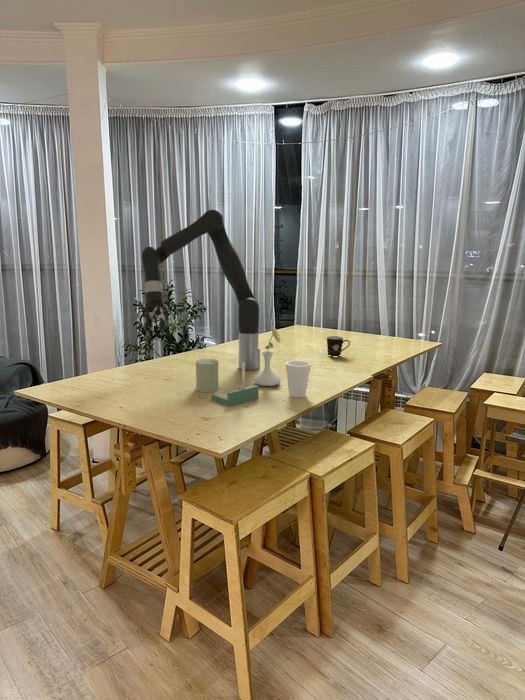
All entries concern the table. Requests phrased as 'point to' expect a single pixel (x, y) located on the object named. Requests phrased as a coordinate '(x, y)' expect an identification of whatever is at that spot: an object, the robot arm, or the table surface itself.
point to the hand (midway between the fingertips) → (156, 328)
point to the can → (207, 375)
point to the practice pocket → (238, 393)
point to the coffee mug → (335, 345)
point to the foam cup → (297, 377)
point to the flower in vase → (268, 365)
